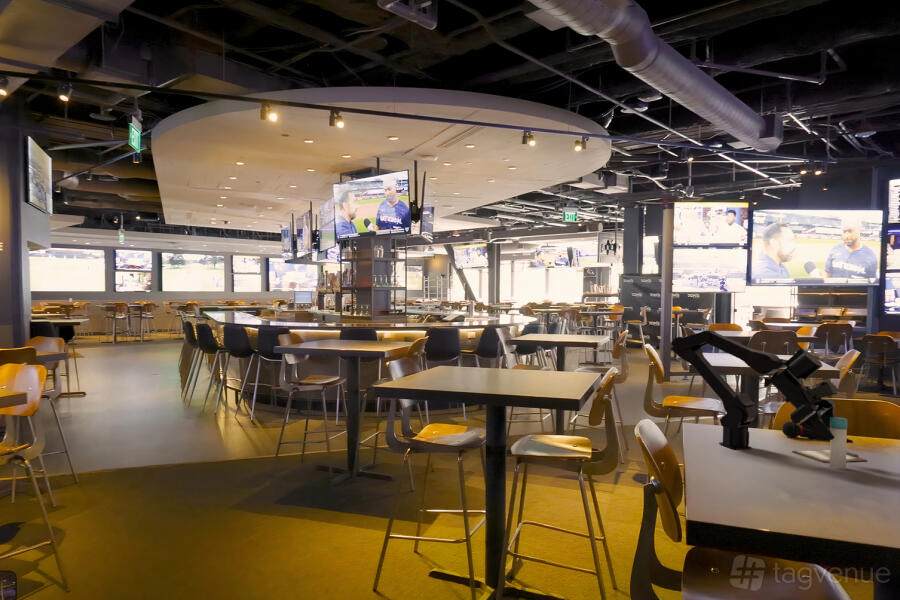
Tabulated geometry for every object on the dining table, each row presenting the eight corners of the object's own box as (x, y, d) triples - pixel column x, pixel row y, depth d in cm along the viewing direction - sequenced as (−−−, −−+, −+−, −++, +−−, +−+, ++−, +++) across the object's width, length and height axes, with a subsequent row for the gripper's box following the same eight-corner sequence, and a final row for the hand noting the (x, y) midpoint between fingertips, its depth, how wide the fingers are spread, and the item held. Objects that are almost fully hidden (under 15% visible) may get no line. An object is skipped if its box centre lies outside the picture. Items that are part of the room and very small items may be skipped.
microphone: (848, 451, 183) (779, 437, 189) (849, 433, 184) (780, 420, 190) (855, 449, 178) (784, 435, 184) (856, 431, 179) (785, 418, 185)
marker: (837, 469, 149) (838, 419, 149) (825, 465, 152) (826, 416, 152) (850, 469, 149) (851, 419, 149) (837, 465, 153) (838, 416, 153)
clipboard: (823, 462, 155) (823, 458, 155) (792, 452, 166) (792, 448, 166) (866, 461, 158) (866, 457, 158) (833, 451, 169) (833, 447, 169)
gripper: (804, 373, 149) (854, 422, 141) (826, 369, 161) (874, 414, 153) (771, 399, 155) (817, 448, 146) (795, 394, 167) (839, 438, 159)
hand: (838, 436), depth 151 cm, fingers open, 9 cm apart
